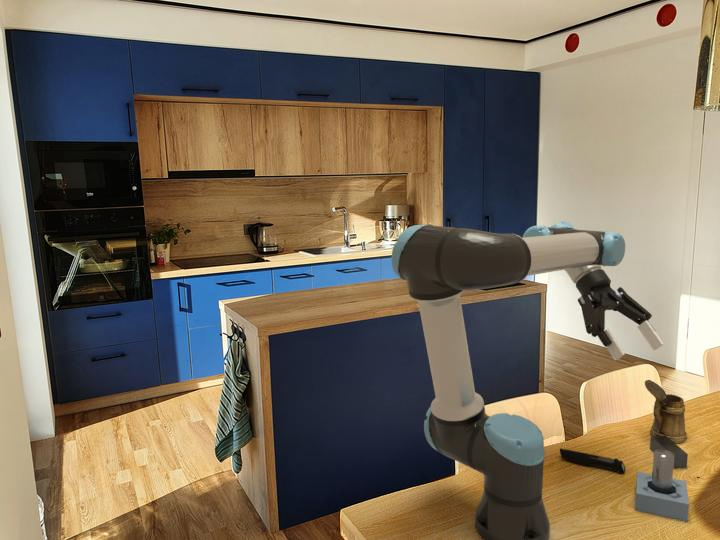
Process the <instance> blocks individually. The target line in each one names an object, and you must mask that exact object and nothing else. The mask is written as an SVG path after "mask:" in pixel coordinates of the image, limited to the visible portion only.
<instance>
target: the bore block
mask: <svg viewBox="0 0 720 540" xmlns="http://www.w3.org/2000/svg"><path fill="white" fill-rule="evenodd" d="M635 483H636V484H635V502H634V503H635V505H634V511H637V512H642V513H647V514H651V515H656V516H661V517H664V518H665V517H666V518H669V519H675V520H679V521H683V522H688V518H689V508H690V507H689V506H690V503H689V502H690V501H689V493H688V483H687V480H683V479H678V478H673V480H672V492H671V494H669V495H667V494H662V493H657V492H655V491H653V490H652V489H651V484H652V473H646V472H642V471H636V482H635Z"/></svg>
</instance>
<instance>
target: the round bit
mask: <svg viewBox="0 0 720 540" xmlns="http://www.w3.org/2000/svg"><path fill="white" fill-rule="evenodd" d="M652 458H653V459H652V460H653V461H652V473H651V474H652V484H651V489H652V490H653V491H655V492H657V493H662V494H667V495H669V494H671V492H672V480H673V479H674V469H673V468H674V454H673V453H672V452H670V451H667V450H663V449H657V450H655V451H654V453H653V457H652Z"/></svg>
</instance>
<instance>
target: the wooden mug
mask: <svg viewBox="0 0 720 540" xmlns="http://www.w3.org/2000/svg"><path fill="white" fill-rule="evenodd" d="M644 386H645V389H646V390H647V392H649V393H650V394H651V396H653V397H654V398H655V400H654V405H653V417H654V418H653V422H652V425H651V427H650V430H649V431H650V436H667V437H668V438H669V439H670V440H672V441H673V442H674V443H675V444H683V443H685V442H686V441H687V439H688V437H687V431H686V423H685V412H686V405H685V404H684V403H685V401H684V398H682V397H681V396H678V395H675V394H672V393H671V394H670V393H666V391H665V390H664V388H662V387H661V385H659V384H658V383H656V382H655V381H653V380H652V379H647V380H645V381H644Z"/></svg>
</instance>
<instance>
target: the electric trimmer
mask: <svg viewBox="0 0 720 540" xmlns="http://www.w3.org/2000/svg"><path fill="white" fill-rule="evenodd" d="M559 454H560V457H561V459H563V460H566V461H569V462H572V463H576V464H579V465H583V466H585V467H588V466H591V467H592V466H593V467H596V468H601V469H604V470H605V469H606V470H610V471H614V472H616V473H617V472H618V474H619V475H622V474H623V475H625V474H626V466H625V464H624V462H623V460H621V459H620V460H619V459H618V458H610V457H606V456H601V455H595V454H592V453H591V454H590V453H586V452H581V451H576V450H571V449H566V448H559Z"/></svg>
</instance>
